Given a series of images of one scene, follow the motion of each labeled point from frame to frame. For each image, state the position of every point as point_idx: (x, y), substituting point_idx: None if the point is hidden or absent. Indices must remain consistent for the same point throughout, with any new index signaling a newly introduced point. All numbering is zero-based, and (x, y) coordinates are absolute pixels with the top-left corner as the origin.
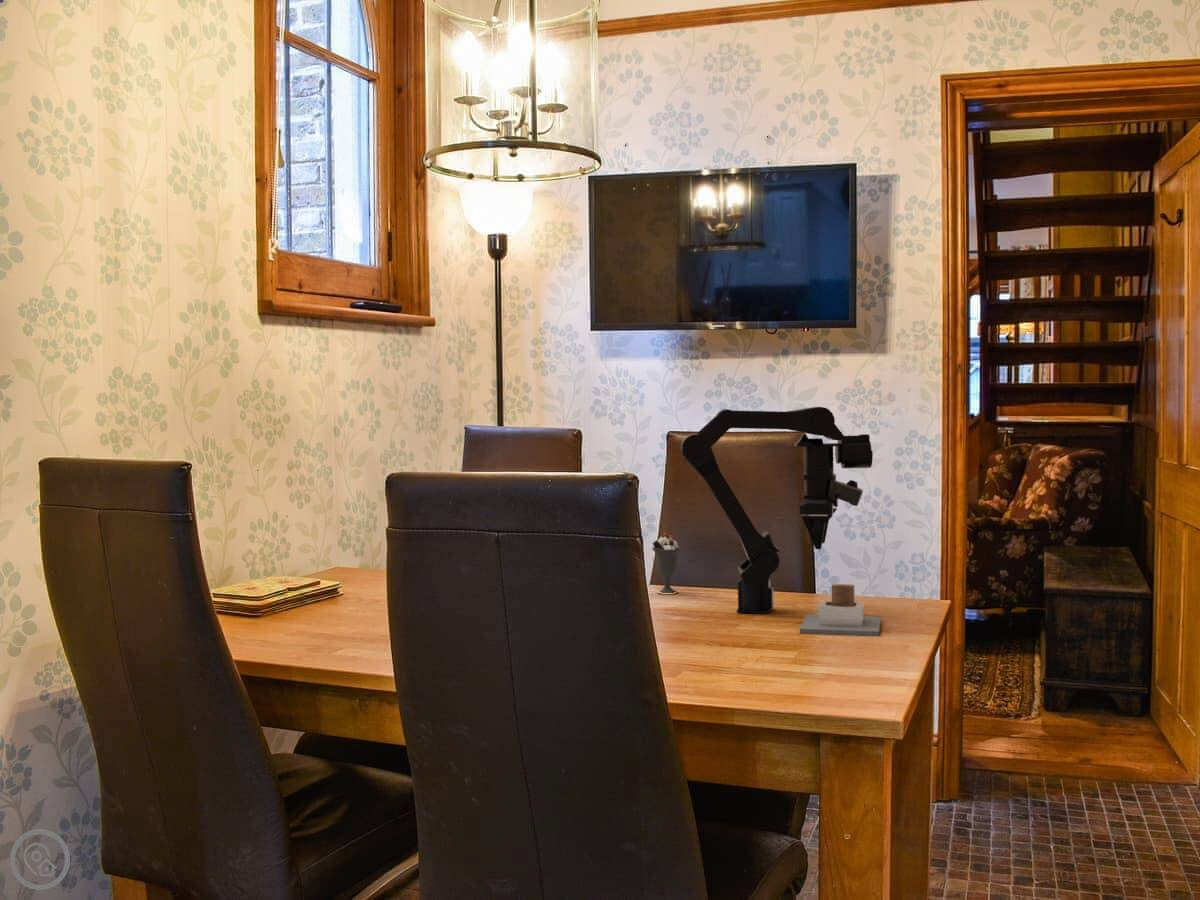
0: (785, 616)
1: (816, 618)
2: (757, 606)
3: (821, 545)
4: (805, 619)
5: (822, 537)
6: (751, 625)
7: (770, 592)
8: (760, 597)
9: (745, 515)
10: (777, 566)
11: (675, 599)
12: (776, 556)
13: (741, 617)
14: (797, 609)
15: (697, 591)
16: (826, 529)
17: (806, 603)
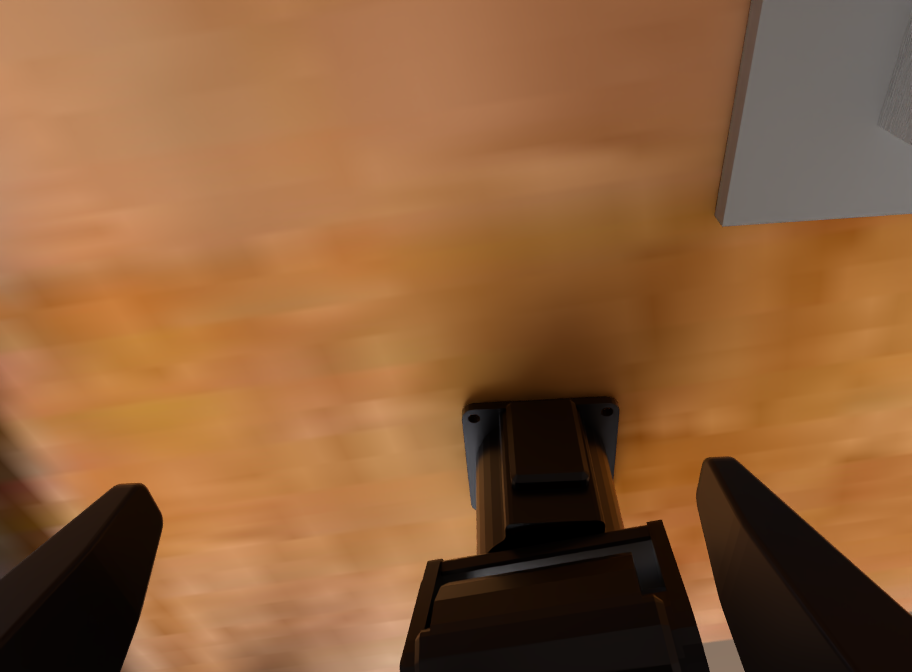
0: (659, 320)
1: (864, 151)
2: (606, 456)
3: (763, 485)
4: (891, 208)
5: (865, 580)
6: (883, 411)
7: (586, 465)
8: (606, 480)
9: None
10: (634, 572)
11: (377, 663)
12: (674, 648)
13: (694, 467)
14: (454, 298)
15: (200, 644)
16: (15, 636)
17: (265, 282)
